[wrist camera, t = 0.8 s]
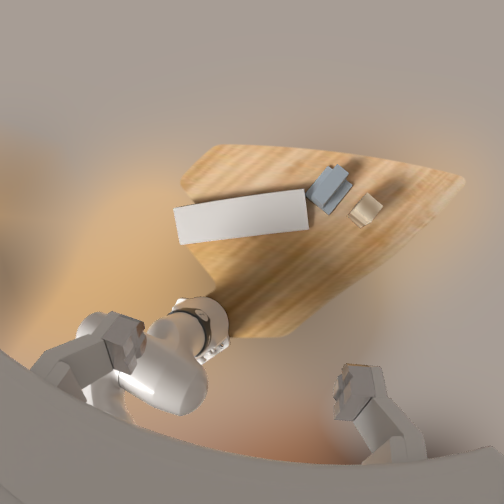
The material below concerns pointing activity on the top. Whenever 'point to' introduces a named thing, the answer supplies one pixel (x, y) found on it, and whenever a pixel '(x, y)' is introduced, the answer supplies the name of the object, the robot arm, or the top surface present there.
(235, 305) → the top surface
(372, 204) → the ash post
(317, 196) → the ridge block
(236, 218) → the decorative molding
